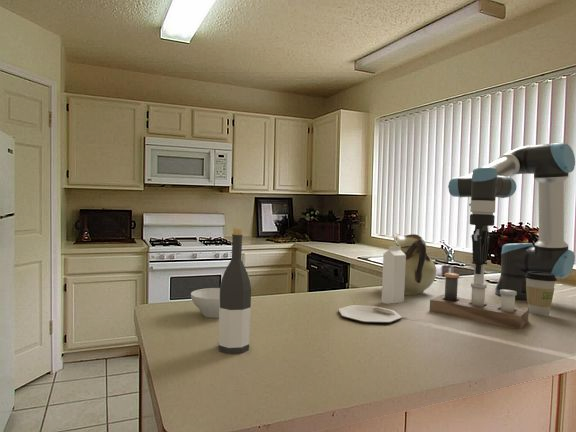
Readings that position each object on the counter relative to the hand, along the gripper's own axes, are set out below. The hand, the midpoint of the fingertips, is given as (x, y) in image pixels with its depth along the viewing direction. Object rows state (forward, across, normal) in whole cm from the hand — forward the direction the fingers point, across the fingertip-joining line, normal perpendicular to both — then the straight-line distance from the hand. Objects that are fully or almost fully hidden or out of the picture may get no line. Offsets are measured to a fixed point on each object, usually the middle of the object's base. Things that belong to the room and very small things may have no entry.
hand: (478, 283), depth 137 cm
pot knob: (+7, 0, -9) cm, 11 cm away
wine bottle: (+13, +78, -35) cm, 86 cm away
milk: (+12, +2, -30) cm, 33 cm away
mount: (+12, 0, 0) cm, 12 cm away
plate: (+13, +25, -27) cm, 39 cm away
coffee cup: (+12, -24, +14) cm, 31 cm away
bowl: (+13, +62, -62) cm, 88 cm away
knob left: (+10, 0, +9) cm, 14 cm away
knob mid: (+9, 0, 0) cm, 9 cm away
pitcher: (+12, -22, -34) cm, 42 cm away
